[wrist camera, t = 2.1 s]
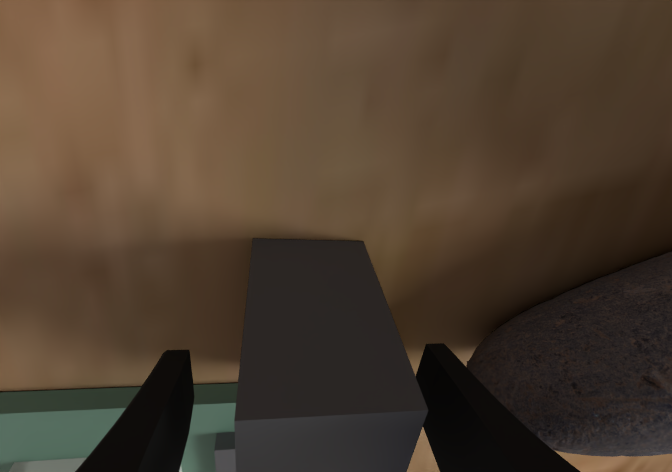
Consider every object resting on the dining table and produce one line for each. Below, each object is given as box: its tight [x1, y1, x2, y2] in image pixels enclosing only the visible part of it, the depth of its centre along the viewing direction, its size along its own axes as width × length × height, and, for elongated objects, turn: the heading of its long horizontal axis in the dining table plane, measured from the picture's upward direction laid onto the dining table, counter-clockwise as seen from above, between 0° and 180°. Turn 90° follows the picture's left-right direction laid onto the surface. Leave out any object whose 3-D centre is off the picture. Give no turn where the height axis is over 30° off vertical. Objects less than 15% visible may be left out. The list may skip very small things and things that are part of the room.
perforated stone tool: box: [466, 251, 672, 456], centre depth 14 cm, size 15×5×7 cm, turn 106°
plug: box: [234, 239, 428, 472], centre depth 12 cm, size 4×6×7 cm, turn 174°
